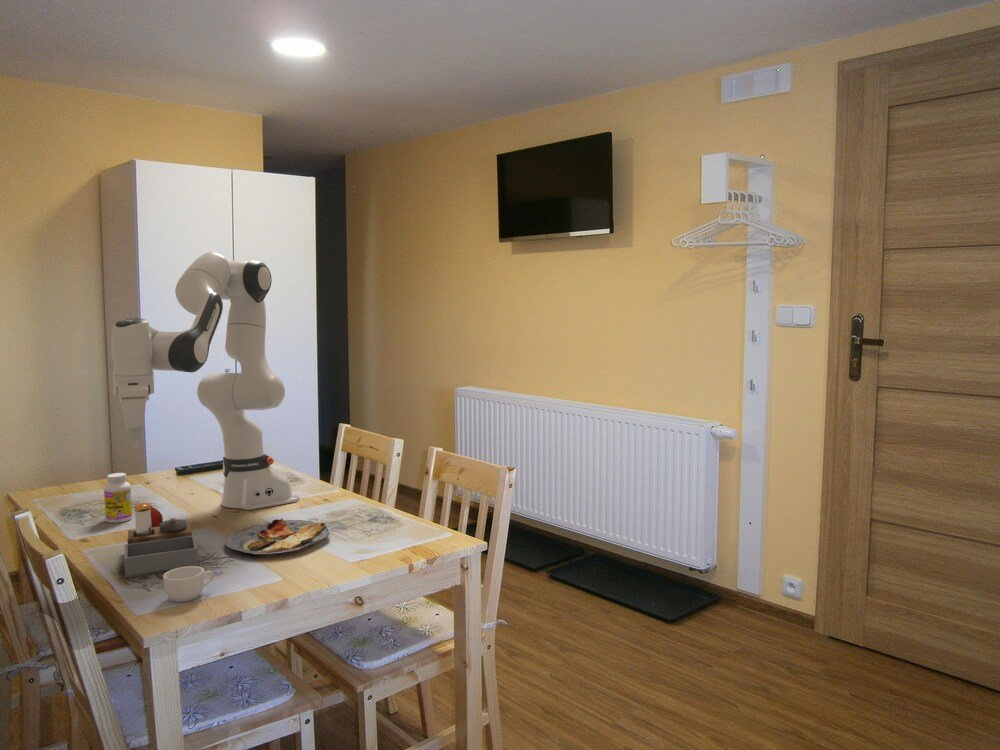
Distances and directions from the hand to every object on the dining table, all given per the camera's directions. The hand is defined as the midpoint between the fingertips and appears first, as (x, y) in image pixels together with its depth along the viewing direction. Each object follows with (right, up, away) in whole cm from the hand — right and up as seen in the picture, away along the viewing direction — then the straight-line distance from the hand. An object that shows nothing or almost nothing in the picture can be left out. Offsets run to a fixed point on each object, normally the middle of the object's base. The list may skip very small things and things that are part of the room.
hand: (136, 443), depth 181 cm
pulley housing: (+5, -26, +3) cm, 27 cm away
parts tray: (+9, -27, -7) cm, 30 cm away
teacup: (+23, -30, -25) cm, 45 cm away
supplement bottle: (-18, -24, +28) cm, 41 cm away
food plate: (+32, -26, +9) cm, 42 cm away
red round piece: (-3, -25, +15) cm, 30 cm away
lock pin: (+2, -27, +1) cm, 27 cm away
